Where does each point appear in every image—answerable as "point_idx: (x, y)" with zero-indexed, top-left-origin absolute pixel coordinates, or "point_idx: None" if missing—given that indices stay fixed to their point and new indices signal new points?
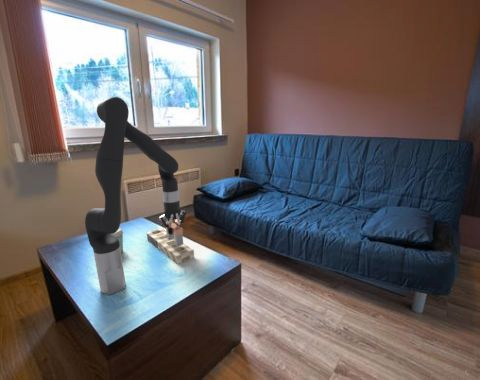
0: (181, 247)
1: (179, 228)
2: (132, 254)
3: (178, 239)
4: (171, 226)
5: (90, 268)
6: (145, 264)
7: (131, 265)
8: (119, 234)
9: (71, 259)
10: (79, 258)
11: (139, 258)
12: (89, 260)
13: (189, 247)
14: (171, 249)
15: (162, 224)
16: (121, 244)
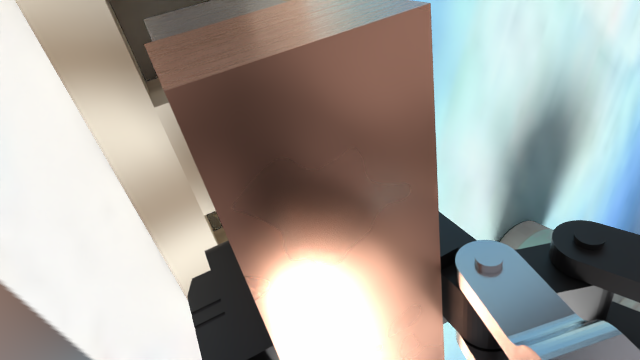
0: (160, 102)
1: (289, 122)
2: (474, 200)
3: (253, 9)
4: (421, 306)
5: (635, 118)
6: (461, 27)
7: (522, 59)
8: (630, 304)
9: (634, 222)
10: (618, 223)
11: (462, 135)
12: (607, 195)
13: (32, 23)
14: None
15: (632, 312)
16: None
